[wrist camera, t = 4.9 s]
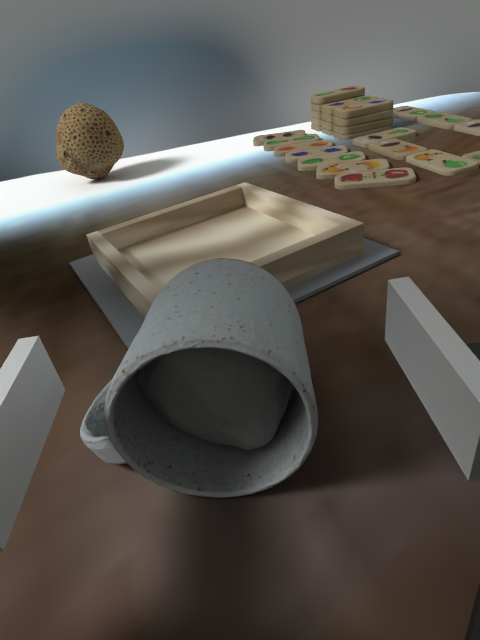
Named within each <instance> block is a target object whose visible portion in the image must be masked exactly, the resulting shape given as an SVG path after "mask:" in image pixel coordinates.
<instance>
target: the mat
mask: <svg viewBox="0 0 480 640" xmlns="http://www.w3.org/2000/svg"><path fill="white" fill-rule="evenodd" d="M397 255H399V251H398V250H395V249H393V248H390V247H387V246H385V245H382V244H379V243H377V242H374V241H371V240H369V239H366V238H364V246H363V254H362V255H360V256H358V257H355V258H353V259H351V260H349V261H346V262H344V263H342V264H340V265H338V266H335V267H333V268H331V269H329V270H327V271H324V272H322V273H320V274H318V275H316V276H313V277H311V278H309V279H307V280H305V281H302V282H300V283H298V284H296V285H293V286H291V287H289V288H287V289H286V290H287V292H288V293H289V295H290V297H291V298H292V300H293V302H294V304H295V303H297V302H299V301H301V300H303V299H306V298H308V297H310V296H312V295H314V294H316V293H318V292H320V291H322V290H325V289H327V288H329V287H331V286H333V285H335V284H337V283H339V282H342V281H344V280H346V279H348V278H350V277H352V276H354V275H356V274H358V273H361V272H363V271H365V270H367V269H369V268H371V267H373V266H375V265H378V264H380V263H382V262H384V261H386V260H388V259H390V258H392V257H394V256H397ZM69 263H70V266H71V267H72V269H73V270H74V271H75V273H76V274H77V276H78V277H79V279H80V280H81V282H82V283H83V284H84V286H85V287H86V289H87V290H88V292H89V293H90V295H91V296H92V297H93V299H94V300H95V302H96V303H97V305H98V306H99V308H100V309H101V310H102V312H103V313H104V315H105V316H106V318H107V319H108V321H109V322H110V323H111V325H112V326H113V328H114V329H115V331H116V332H117V334H118V335H119V336H120V338H121V339H122V341H123V342H124V344H125V345H126V347H127V348H128V349H129V347H130V346H131V344H132V342H133V340H134V338H135V336H136V335H137V333H138V332H139V330H140V328H141V326H142V324H143V322H144V320H145V318H144V317H143V315H142V314H141V313H140V312H139V311H138V309H137V308H136V307H135V306H134V305H133V304H132V302H131V301H130V300H129V299H128V298H127V297H126V295H125V294H124V293H123V292H122V291H121V290H120V288H119V287H118V286H117V285H116V284H115V282H114V281H113V280H112V279H111V278H110V277H109V275H108V274H107V273H106V272H105V271H104V270H103V268H102V267H101V266H100V265H99V264H98V262H97V261H96V260H95V257H94V255H93V254H92V255H89V256H87V257H84V258H81V259H78V260H75V261H72V262H69Z"/></svg>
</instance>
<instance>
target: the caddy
mask: <svg viewBox="0 0 480 640" xmlns="http://www.w3.org/2000/svg"><path fill="white" fill-rule="evenodd" d="M87 238H88V241H89V244H90V246H91V249H92V252H93V255H94V257H95V260H96V261H97V262H98V264H99V265H100V266H101V267H102V268H103V270H104V271H105V272H106V273H107V274H108V275H109V277H110V278H111V279H112V280H113V281H114V282H115V284H116V285H117V286H118V287H119V288H120V290H121V291H122V292H123V293H124V294H125V295H126V297H127V298H128V299H129V300H130V301H131V302H132V304H133V305H134V306H135V307H136V308H137V309H138V311H139V312H140V313H141V314H142V315H143V317H144V318H146V315H147V313H148V311H149V309H150V307H151V305H152V303H153V302H154V300H155V298H156V297H157V296H158V294H159V293H160V292H161V291H162V289H163V288H164V287H165V286H166V284H167V283H168V282H169V281H170V280H171V279H172V278H174V277H175V276H176V275H177V274H178V273H179V272H181V271H183V270H184V269H186V268H188V267H189V266H191V265H194V264H196V263H199V262H202V261H205V260H212V259H218V258H228V259H238V260H243V261H246V262H250V263H253V264H255V265H257V266H259V267H261V268H263V269H265V270H266V271H268V272H270V273H271V274H272V275H273V276H274V277H275V278H276V279H277V280H278V281H279V282H281V283H282V285H283V286H284V288H285V289H287V288H289V287H291V286H293V285H296V284H298V283H300V282H302V281H305V280H307V279H309V278H311V277H313V276H316V275H318V274H320V273H322V272H324V271H327V270H329V269H331V268H333V267H335V266H338V265H340V264H342V263H344V262H346V261H349V260H351V259H353V258H355V257H358V256H360V255H362V254H363V246H364V223H362V222H359V221H356V220H353V219H351V218H348V217H345V216H342V215H339V214H336V213H333V212H330V211H327V210H324V209H321V208H318V207H315V206H312V205H310V204H307V203H304V202H301V201H298V200H295V199H292V198H289V197H286V196H283V195H280V194H277V193H274V192H271V191H269V190H266V189H263V188H260V187H257V186H254V185H251V184H248V183H242V184H239V185H236V186H233V187H230V188H227V189H224V190H221V191H218V192H215V193H212V194H209V195H206V196H203V197H200V198H196V199H193V200H190V201H187V202H184V203H181V204H178V205H175V206H172V207H169V208H166V209H163V210H160V211H157V212H154V213H151V214H148V215H145V216H142V217H139V218H136V219H133V220H130V221H126V222H123V223H120V224H117V225H114V226H111V227H108V228H105V229H102V230H99V231H96V232H93V233H90V234H87Z"/></svg>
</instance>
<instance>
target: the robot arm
mask: <svg viewBox="0 0 480 640" xmlns="http://www.w3.org/2000/svg"><path fill="white" fill-rule="evenodd" d="M385 341H386V343H387V344H388V346H389V348H390V349H391V351H392V353H393V355H394V356H395V358H396V360H397V361H398V363H399V365H400V366H401V368H402V370H403V371H404V373H405V375H406V376H407V378H408V380H409V382H410V383H411V385H412V387H413V388H414V390H415V392H416V393H417V395H418V397H419V398H420V400H421V402H422V403H423V405H424V407H425V409H426V410H427V412H428V414H429V415H430V417H431V419H432V420H433V422H434V424H435V425H436V427H437V429H438V431H439V432H440V434H441V436H442V437H443V439H444V441H445V442H446V444H447V446H448V447H449V449H450V451H451V452H452V454H453V456H454V458H455V459H456V461H457V463H458V464H459V466H460V468H461V469H462V471H463V473H464V474H465V476H466V478H467V480H468V481H472V480H478V479H480V342H479V343H472V344H465V343H464V342H463V341H462V339H461V338H460V337H459V336H458V335H457V333H456V332H455V331H454V330H453V329H452V328H451V326H450V325H449V324H448V323H447V322H446V320H445V319H444V318H443V317H442V316H441V315H440V313H439V312H438V311H437V310H436V309H435V307H434V306H433V305H432V304H431V303H430V301H429V300H428V299H427V298H426V297H425V296H424V294H423V293H422V292H421V291H420V290H419V288H418V287H417V286H416V285H415V284H414V282H413V281H412V280H411V279H410V278H409V277H404V278H397V279H391V280H388V288H387V307H386V325H385ZM64 392H65V388H64V386H63V384H62V382H61V380H60V378H59V376H58V374H57V372H56V370H55V368H54V366H53V364H52V362H51V360H50V358H49V356H48V354H47V352H46V350H45V348H44V346H43V344H42V342H41V340H40V338H39V336H34V337H28V338H22V339H18V341H17V342H16V344H15V346H14V347H13V349H12V351H11V352H10V354H9V356H8V357H7V359H6V361H5V362H4V364H3V366H2V367H1V369H0V551H4V548H5V545H6V543H7V540H8V538H9V535H10V533H11V530H12V527H13V525H14V522H15V520H16V517H17V514H18V512H19V509H20V507H21V504H22V501H23V499H24V496H25V494H26V491H27V488H28V486H29V483H30V481H31V478H32V475H33V473H34V470H35V468H36V465H37V462H38V460H39V457H40V455H41V452H42V449H43V447H44V444H45V442H46V439H47V436H48V434H49V431H50V429H51V426H52V423H53V421H54V418H55V416H56V413H57V410H58V408H59V405H60V403H61V400H62V397H63V395H64ZM465 640H480V584H479V588H478V592H477V596H476V599H475V603H474V607H473V611H472V614H471V618H470V622H469V625H468V629H467V633H466V637H465Z"/></svg>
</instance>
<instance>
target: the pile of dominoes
mask: <svg viewBox="0 0 480 640" xmlns="http://www.w3.org/2000/svg"><path fill="white" fill-rule="evenodd" d="M364 94H365V88H364V87H361V86H350V87H346V88H341V89H336V90H332V91H327V92H322V93H317V94H313V95H311V96H310V102H311V109H312V110H311V116H312V119H311V123H312V124H311V129H314V130H316V131H322V133H325V134H328V135H333V137H335V138H338V139H341V140H349V139H353V144H354V145H357V146H360V147H364V148H368V149H369V150H371V151H374V152H377V153H380V154H382V155H385V156H388V157H391V158H393V159H396V160H406V162H408V163H410V164H413V165H416V166H419V167H421V168H424V169H427V170H430V171H433V172H435V173H438V174H441V175H446V176H452V175H458V174H462V173H466V172H470V171H474V170H477V169H478V168H479V167H480V151H476V152H472V153H468V154H465V155H463V156H462V157H459V156H456V155H452V154H449V153H445V152H442V151H439V150H428V149H427V148H425V147H421V146H418V145H415V144H412V143H408V142H405V141H402V140H403V139H408V138H412V137H415V136H416V130H413V129H409V128H404V127H399V128H394V129H392V123H393V118H397V119H402V120H407V121H416V122H417V123H421V124H425V125H430V126H434V127H439V128H443V129H453V130H454V131H459V132H463V133H468V134H472V135H477V136H480V120H472V118H467V117H462V116H457V115H452V114H447V113H442V112H436V113H435V112H434V111H432V110H426V109H420V108H415V107H409V106H401V107H397V108H393V100H389V99H383V98H381V99H378V97H373V96H364ZM253 142H254V146H263V145H264V151H274V156H275V157H283V156H285V162H286V163H298V170H299V171H310V170H317V173H316V176H317V179H333V178H335V188H336V189H341V190H344V189H356V188H367V187H379V186H391V185H402V184H411V183H414V182H416V175H415V173H414V171H413V169H411V168H394V169H390V165H389V163H388V161H387V160H386V159H372V160H366V157H365V155H364V153H363V152H359V151H355V152H348V149H347V147H346V146H344V145H339V146H333V143H332V141H331V140H320V139H319V136H318V135H317V134H309V135H306V133H305V131H304V130H297V131H290V132H283V133H276V134H268V135H260V136H257V137H254V140H253Z"/></svg>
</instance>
